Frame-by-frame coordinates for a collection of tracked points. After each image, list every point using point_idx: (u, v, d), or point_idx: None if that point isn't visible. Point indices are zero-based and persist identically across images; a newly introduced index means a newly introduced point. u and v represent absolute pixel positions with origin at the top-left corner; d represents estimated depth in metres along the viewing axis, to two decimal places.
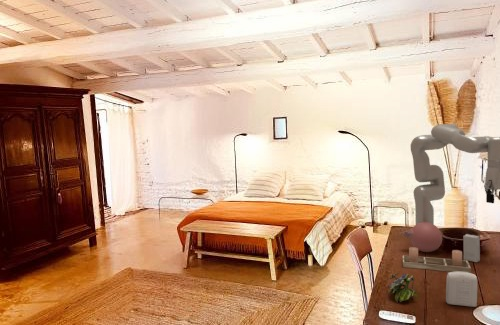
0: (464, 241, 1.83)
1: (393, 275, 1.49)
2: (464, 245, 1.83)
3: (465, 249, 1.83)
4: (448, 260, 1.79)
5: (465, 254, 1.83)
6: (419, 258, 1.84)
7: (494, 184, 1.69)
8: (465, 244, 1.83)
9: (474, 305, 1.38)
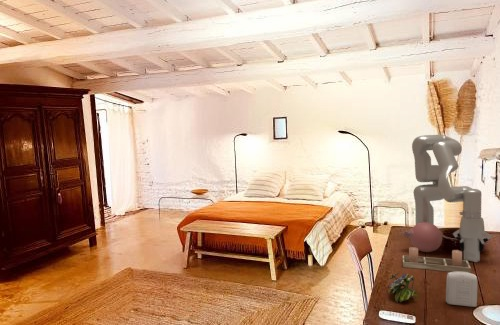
0: (464, 241, 1.83)
1: (393, 275, 1.49)
2: (464, 245, 1.83)
3: (465, 249, 1.83)
4: (448, 260, 1.79)
5: (465, 254, 1.83)
6: (419, 258, 1.84)
7: None
8: (465, 244, 1.83)
9: (474, 305, 1.38)
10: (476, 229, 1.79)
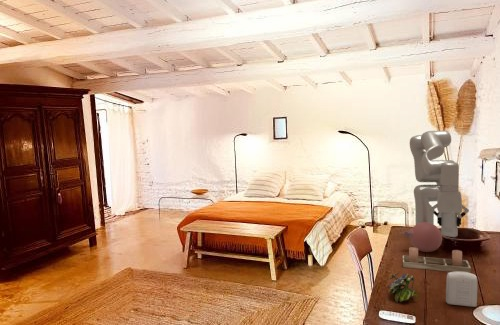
0: (442, 216, 1.78)
1: (393, 275, 1.49)
2: (442, 220, 1.78)
3: (443, 224, 1.78)
4: (448, 260, 1.79)
5: (443, 229, 1.78)
6: (419, 258, 1.84)
7: None
8: (442, 219, 1.78)
9: (474, 305, 1.38)
10: (453, 202, 1.74)
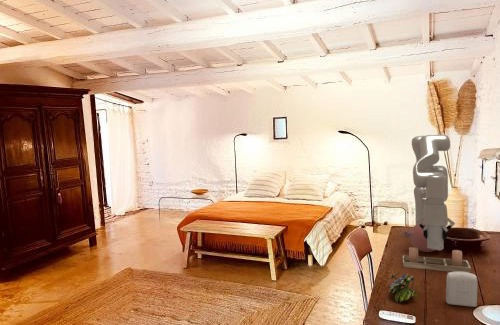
0: (427, 229, 1.76)
1: (393, 275, 1.49)
2: (427, 233, 1.77)
3: (428, 237, 1.76)
4: (448, 260, 1.79)
5: (428, 242, 1.77)
6: (419, 258, 1.84)
7: None
8: (428, 232, 1.76)
9: (474, 305, 1.38)
10: (439, 215, 1.72)
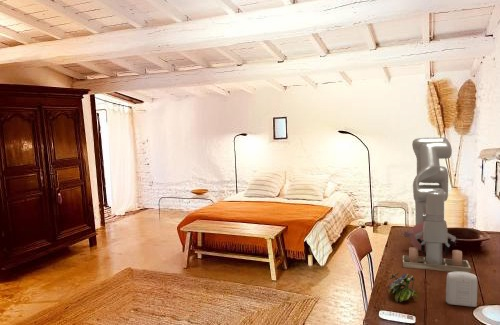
0: (426, 247, 1.78)
1: (393, 275, 1.49)
2: (427, 251, 1.78)
3: (428, 255, 1.78)
4: (448, 260, 1.79)
5: (428, 260, 1.78)
6: (419, 258, 1.84)
7: None
8: (427, 250, 1.77)
9: (474, 305, 1.38)
10: (439, 232, 1.73)
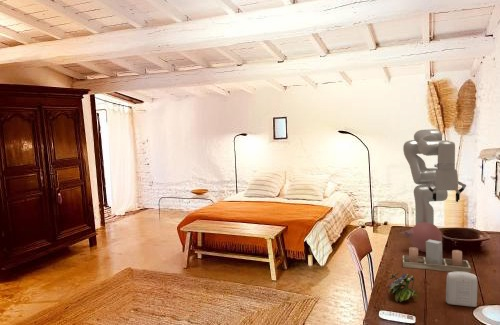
0: (426, 247, 1.78)
1: (393, 275, 1.49)
2: (427, 251, 1.78)
3: (428, 255, 1.78)
4: (448, 260, 1.79)
5: (428, 260, 1.78)
6: (419, 258, 1.84)
7: None
8: (427, 250, 1.77)
9: (474, 305, 1.38)
10: (450, 180, 1.82)
